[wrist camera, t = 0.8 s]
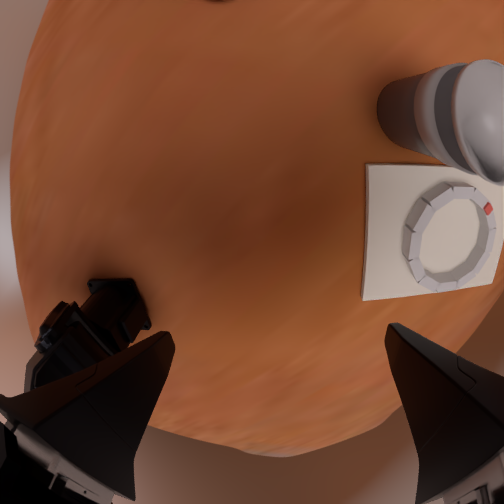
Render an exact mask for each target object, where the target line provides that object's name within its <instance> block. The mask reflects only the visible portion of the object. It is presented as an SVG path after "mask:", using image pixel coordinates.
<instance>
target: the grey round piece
mask: <svg viewBox="0 0 504 504" xmlns="http://www.w3.org/2000/svg"><path fill="white" fill-rule="evenodd" d="M377 115H378V120H379V123H380V125H381V128H382V129H383V131H384V133H385V134H386V135H387V137H388V138H389V139H390V140H391V141H393V142H394V143H395V144H397V145H399V146H401V147H403V148H407V149H410V150H413V151H416V152H419V153H422V154H425V155H428V156H431V157H434V158H437V159H438V160H439V161H441V162H442V163H444V164H446V165H448V166H451V167H453V168H456V169H458V170H461V171H463V172H465V173H468V174H471V175H478V176H480V177H481V178H482V179H484V180H486V181H488V182H490V183H492V184H495V185H498V186H504V66H503V65H502V64H500V63H498V62H496V61H493V60H478V61H473V62H471V63H469V64H467V63H456V64H451V65H447V66H442V67H438V68H435V69H432V70H430V71H429V72H427V73H424V74H420V75H416V76H412V77H408V78H404V79H401V80H397V81H394V82H392V83H390V84H388V85H387V86H386V87H385V88H384V89H383V90H382V92H381V94H380V96H379V98H378V103H377Z"/></svg>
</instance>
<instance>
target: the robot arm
mask: <svg viewBox="0 0 504 504" xmlns="http://www.w3.org/2000/svg"><path fill="white" fill-rule="evenodd" d="M129 283H130V284H131V285H130V284H129ZM87 285H88V287H89V290H90V292H91V294H92V295H91V296H90V297H89V298H88V299H87V300H86V302H85V303H84V304H83V305H82V306H81V307H80V308H79V307H78V304H77V303H76V302H75V301H74V302H73V303H71V304H70V305H69V304H68V303H65V302H63V301H61V302H60V303H59V304H58V305H57V306H56V307H55V308H54V309H53V310H52V311H51V312H50V313H49V315H48V316H47V317H46V319H45V320H44V322H43V323H42V325H41V326H40V328H39V329H40V334H39V336H38V339H37V341H36V343H35V345H34V346H35V347H36V349H37V351H36V353H35V354H34V355H33V357H32V358H31V359H30V360H29V362H28V363H27V365H26V373H25V384H24V393H23V394H20V395H17V396H14V397H10V398H9V397H5V396H4V395H2V394H0V413H1V414H2V415H3V416H4V417H5V418H6V419H7V422H6V423H5V425H4V424H3V423H1V422H0V504H113V503H112V498H113V496H114V494H116V495H119V496H121V497H124V498H127V499H130V500H132V501H135V498H136V497H135V484H134V457H135V454H136V451H137V449H138V446H139V444H140V441H141V439H142V436H143V434H144V431H145V429H146V426H147V424H148V422H149V419H150V417H151V415H152V412H153V410H154V407H155V405H156V403H157V400H158V398H159V396H160V393H161V391H162V388H163V386H164V384H165V381H166V379H167V376H168V373H169V370H170V367H171V363H172V360H173V356H174V353H175V344H174V341H173V339H172V336H171V334H170V332H168V331H160V332H158V333H156V334H154V335H152V336H150V337H148V338H146V339H144V340H142V341H140V342H138V343H136V344H134V345H133V346H131V347H129V348H127V347H128V346H129V344H130V343H133V342H134V340H135V338H136V337H137V335H138V333H139V332H140V330H149V329H150V328H151V323H150V321H149V318H148V316H147V313H146V311H145V308H144V306H143V303H142V301H141V298H140V296H139V293H138V290H137V288H136V285H135V282H134V281H133V280H132V279H90V280H89V281H88V282H87ZM385 347H386V351H387V356H388V360H389V364H390V369H391V372H392V375H393V378H394V381H395V384H396V387H397V389H398V392H399V395H400V398H401V401H402V404H403V407H404V410H405V413H406V416H407V420H408V423H409V426H410V429H411V433H412V436H413V439H414V443H415V446H416V450H417V453H418V458H419V475H418V485H417V493H416V501H415V504H425V503H428V502H431V501H434V500H437V499H439V498H442V497H443V500H444V504H504V377H503V376H501V375H499V374H496V373H494V372H491V371H489V370H487V369H485V368H483V367H480V366H478V365H476V364H474V363H472V362H470V361H468V360H466V359H464V358H462V357H461V356H457V355H456V354H455V353H453V352H451V351H449V350H447V349H445V348H444V347H442V346H440V345H438V344H436V343H434V342H433V341H431V340H429V339H427V338H425V337H423V336H422V335H420V334H418V333H416V332H414V331H412V330H411V329H409V328H407V327H405V326H403V325H401V324H399V323H390V324H389V325H388V327H387V331H386V335H385Z"/></svg>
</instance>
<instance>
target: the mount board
mask: <svg viewBox="0 0 504 504" xmlns="http://www.w3.org/2000/svg"><path fill="white" fill-rule="evenodd" d="M503 240H504V186H498V185H495V184H492V183H490V182H488V181H486V180H484V179H482V178H481V177H480V176H478V175H471V174H468V173H465V172H463V171H461V170H458V169H456V168H453V167H451V166H448V165H430V164H392V163H373V164H366V229H365V250H364V266H363V278H362V289H361V298H362V301H367V300H377V299H387V298H396V297H405V296H413V295H421V294H429V293H438V292H445V291H452V290H456V289H463V288H469V287H475V286H481V285H487V284H492V282H493V278H494V275H495V272H496V268H497V264H498V261H499V257H500V253H501V249H502V244H503Z"/></svg>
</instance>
